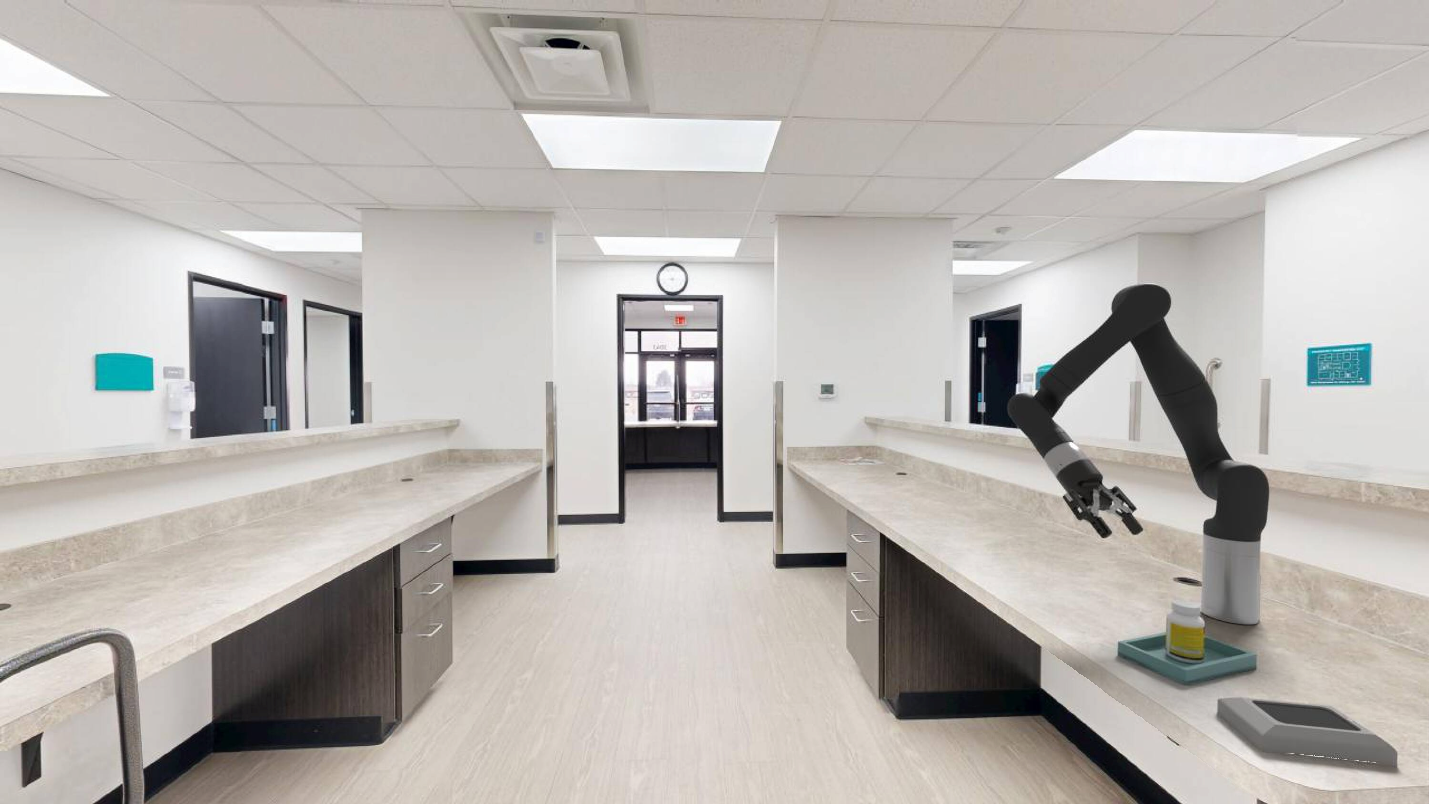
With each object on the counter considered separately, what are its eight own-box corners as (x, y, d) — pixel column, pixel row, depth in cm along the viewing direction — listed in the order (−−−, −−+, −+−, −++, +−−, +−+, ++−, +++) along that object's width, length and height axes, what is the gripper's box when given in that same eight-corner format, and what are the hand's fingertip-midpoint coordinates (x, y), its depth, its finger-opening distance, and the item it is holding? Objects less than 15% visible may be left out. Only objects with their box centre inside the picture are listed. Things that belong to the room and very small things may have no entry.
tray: (1185, 641, 113) (1185, 628, 113) (1256, 668, 103) (1256, 654, 102) (1117, 654, 108) (1117, 641, 107) (1185, 685, 97) (1186, 670, 97)
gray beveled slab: (1217, 691, 89) (1336, 702, 86) (1217, 715, 89) (1335, 727, 86) (1262, 727, 79) (1398, 741, 76) (1261, 753, 79) (1397, 769, 76)
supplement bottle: (1211, 666, 102) (1212, 610, 102) (1175, 663, 103) (1176, 607, 103) (1193, 652, 107) (1194, 599, 107) (1159, 649, 108) (1160, 596, 108)
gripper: (1058, 458, 121) (1111, 527, 111) (1108, 456, 126) (1163, 521, 115) (1036, 480, 126) (1084, 547, 116) (1084, 477, 131) (1135, 541, 120)
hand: (1123, 534), depth 116 cm, fingers open, 8 cm apart
